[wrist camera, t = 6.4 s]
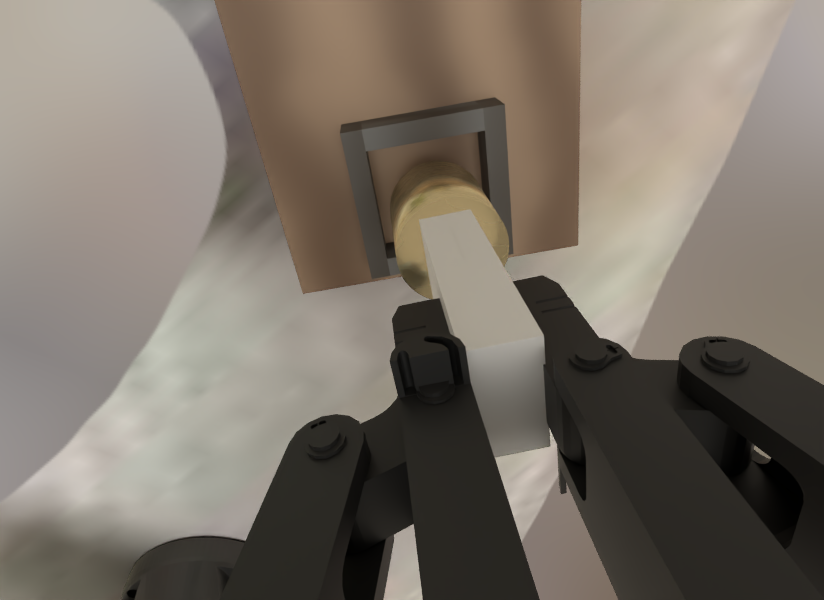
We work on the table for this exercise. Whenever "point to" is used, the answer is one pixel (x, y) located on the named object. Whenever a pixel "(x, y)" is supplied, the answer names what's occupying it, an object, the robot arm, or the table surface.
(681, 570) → the robot arm
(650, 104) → the table surface
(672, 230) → the table surface
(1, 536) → the table surface
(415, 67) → the mount
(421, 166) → the knob
